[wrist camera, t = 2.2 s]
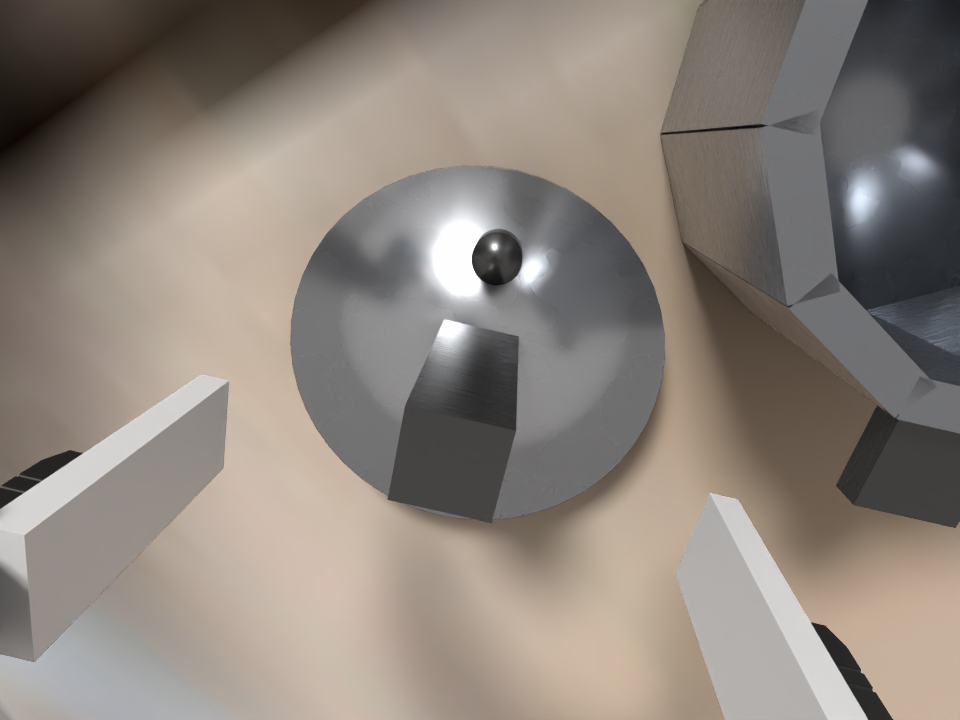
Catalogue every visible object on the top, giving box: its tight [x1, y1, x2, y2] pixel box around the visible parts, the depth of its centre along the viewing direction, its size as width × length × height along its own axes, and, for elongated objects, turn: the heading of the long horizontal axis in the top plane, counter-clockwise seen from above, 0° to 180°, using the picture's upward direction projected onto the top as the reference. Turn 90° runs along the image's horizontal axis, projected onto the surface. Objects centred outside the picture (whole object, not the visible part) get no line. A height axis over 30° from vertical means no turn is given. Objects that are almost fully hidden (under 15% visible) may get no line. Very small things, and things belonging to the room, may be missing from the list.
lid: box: [290, 166, 665, 523], centre depth 21 cm, size 15×15×11 cm
